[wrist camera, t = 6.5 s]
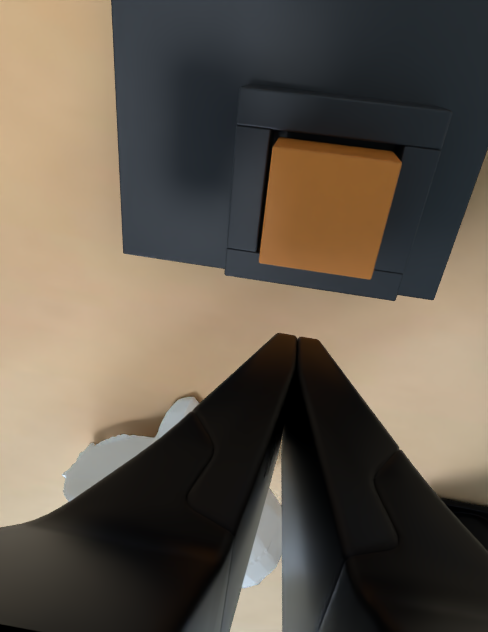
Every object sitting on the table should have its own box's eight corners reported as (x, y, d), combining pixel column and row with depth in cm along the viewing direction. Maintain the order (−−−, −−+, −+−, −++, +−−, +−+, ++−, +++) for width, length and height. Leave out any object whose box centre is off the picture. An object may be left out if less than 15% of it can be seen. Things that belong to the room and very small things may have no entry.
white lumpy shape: (171, 474, 35) (341, 502, 26) (98, 578, 29) (282, 663, 20) (110, 395, 32) (280, 392, 22) (15, 495, 26) (188, 548, 17)
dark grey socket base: (518, -4, 15) (575, -24, 12) (423, 279, 21) (444, 322, 17) (132, -40, 17) (82, -68, 13) (139, 237, 22) (106, 269, 19)
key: (393, 150, 15) (402, 162, 13) (366, 258, 17) (371, 280, 15) (277, 136, 15) (272, 145, 14) (264, 243, 17) (258, 263, 16)
